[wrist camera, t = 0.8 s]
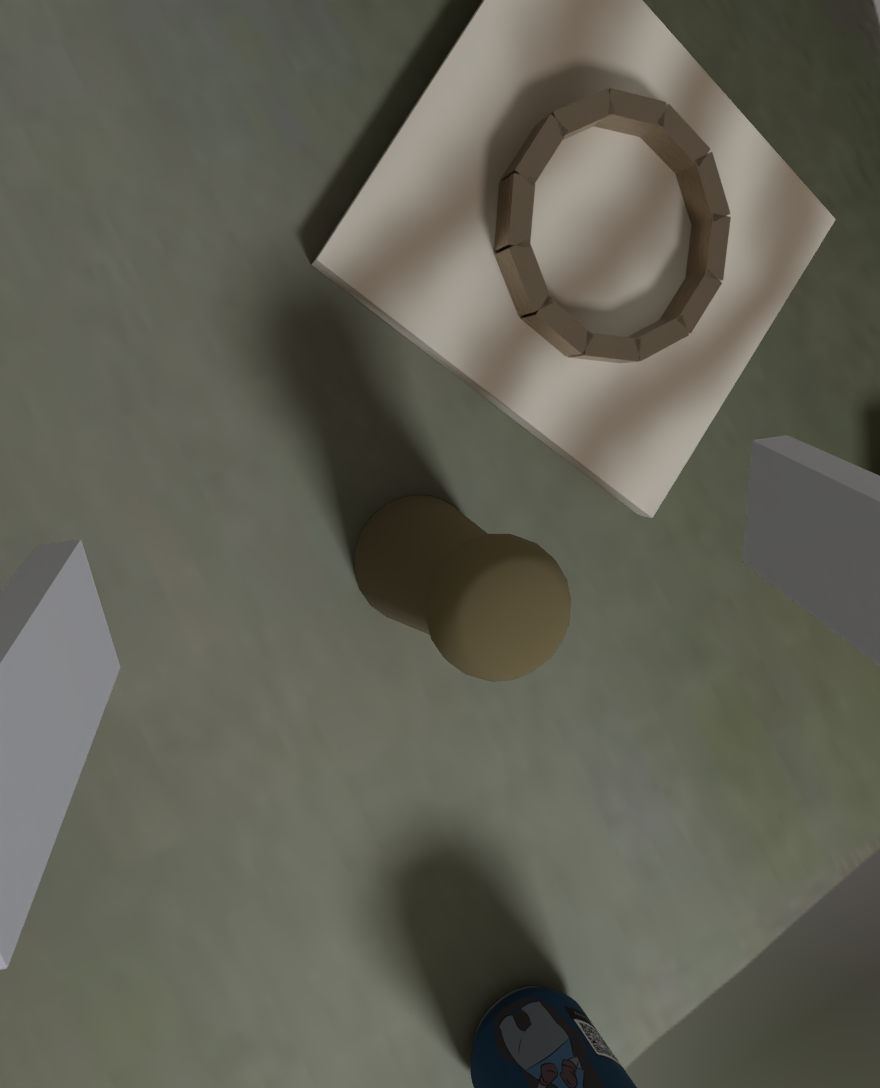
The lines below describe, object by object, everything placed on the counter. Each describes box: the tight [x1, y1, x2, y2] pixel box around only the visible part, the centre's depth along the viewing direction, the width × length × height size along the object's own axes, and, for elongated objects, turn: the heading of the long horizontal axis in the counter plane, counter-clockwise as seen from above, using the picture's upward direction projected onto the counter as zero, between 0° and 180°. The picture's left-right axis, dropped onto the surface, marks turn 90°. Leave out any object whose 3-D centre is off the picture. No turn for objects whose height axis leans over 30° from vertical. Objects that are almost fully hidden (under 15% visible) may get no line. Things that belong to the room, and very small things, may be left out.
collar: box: [494, 88, 731, 363], centre depth 34 cm, size 11×11×2 cm
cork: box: [354, 495, 571, 681], centre depth 31 cm, size 6×6×11 cm
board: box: [311, 0, 836, 518], centre depth 35 cm, size 20×18×1 cm
